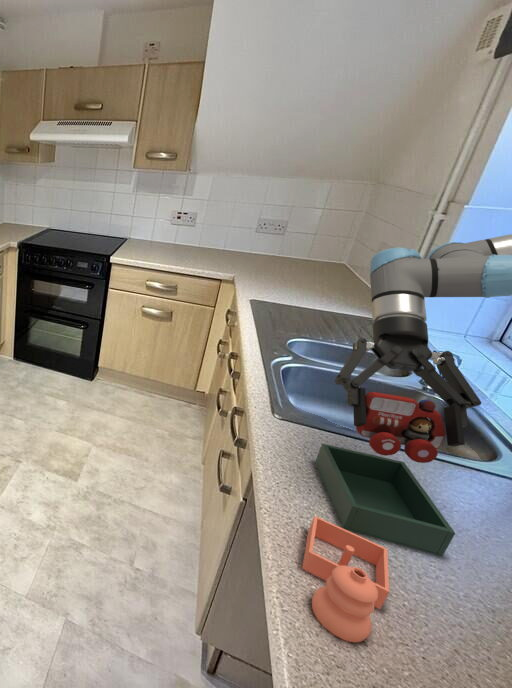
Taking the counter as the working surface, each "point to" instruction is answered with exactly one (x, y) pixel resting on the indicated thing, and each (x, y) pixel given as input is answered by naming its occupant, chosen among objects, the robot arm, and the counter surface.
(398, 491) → the toy tray
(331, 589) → the pottery
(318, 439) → the counter surface
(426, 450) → the toy fire truck
